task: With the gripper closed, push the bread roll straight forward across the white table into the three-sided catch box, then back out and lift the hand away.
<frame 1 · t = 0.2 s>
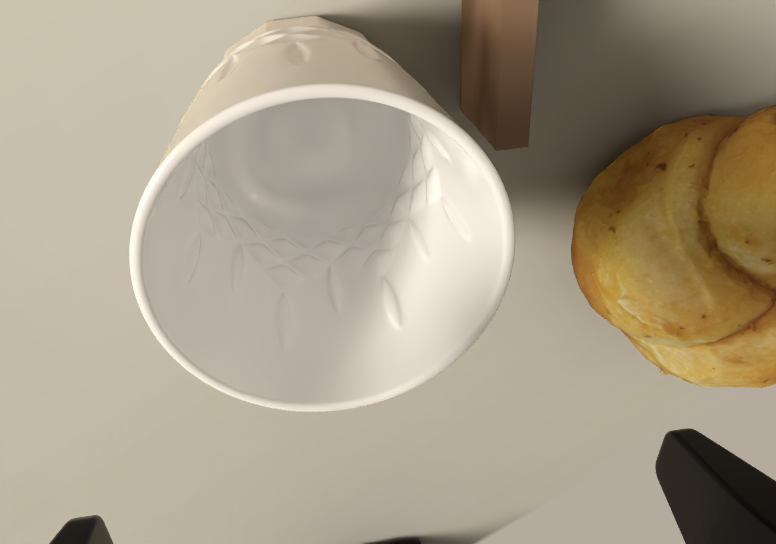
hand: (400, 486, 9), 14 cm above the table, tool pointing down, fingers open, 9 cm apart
white cup: (307, 117, 21), on the table
bread roll: (670, 228, 26), on the table
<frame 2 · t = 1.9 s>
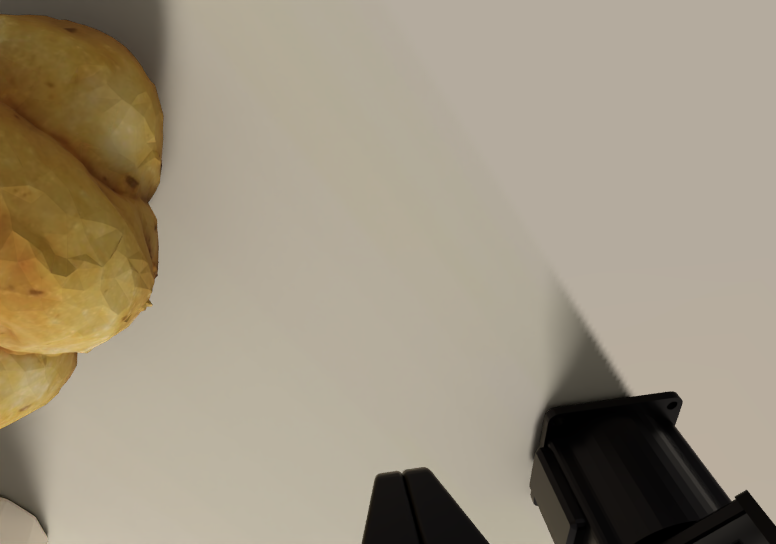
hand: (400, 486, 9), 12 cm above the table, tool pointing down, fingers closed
bread roll: (9, 191, 18), on the table
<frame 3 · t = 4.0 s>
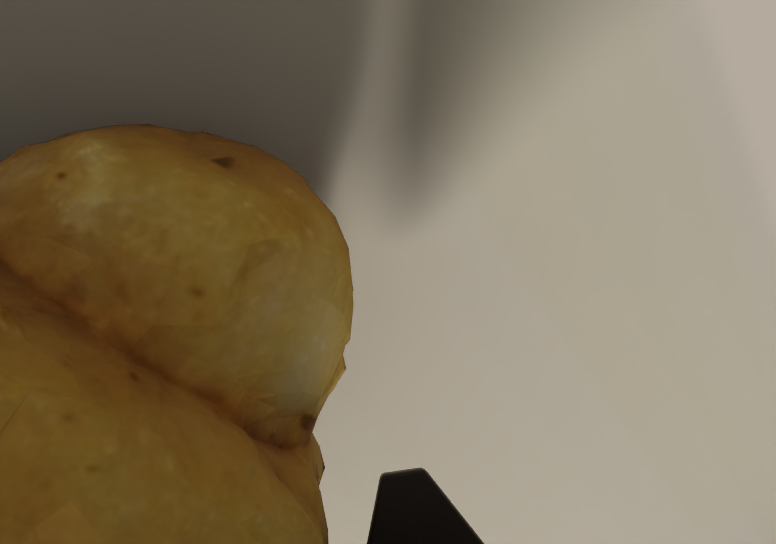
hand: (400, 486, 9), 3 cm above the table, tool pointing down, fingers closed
bread roll: (59, 371, 11), on the table, touching gripper
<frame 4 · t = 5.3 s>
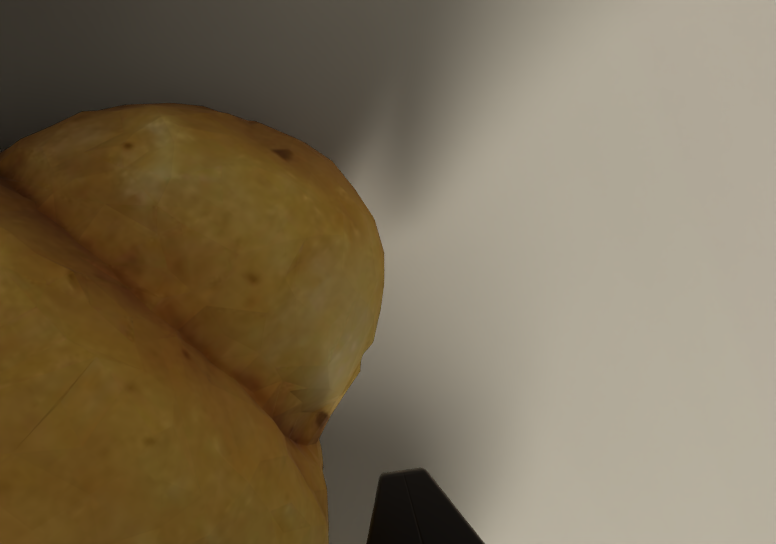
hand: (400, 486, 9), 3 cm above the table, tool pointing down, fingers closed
bread roll: (52, 343, 11), on the table, touching gripper
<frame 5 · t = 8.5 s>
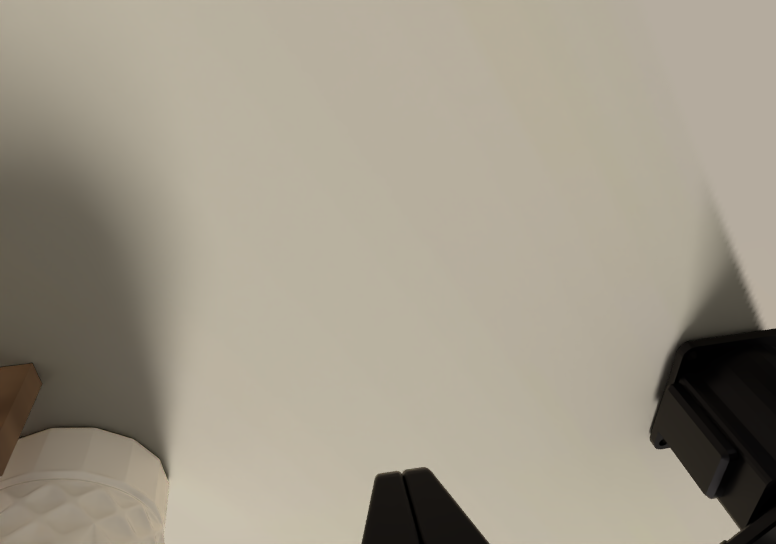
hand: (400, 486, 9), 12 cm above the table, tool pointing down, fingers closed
white cup: (83, 478, 24), on the table
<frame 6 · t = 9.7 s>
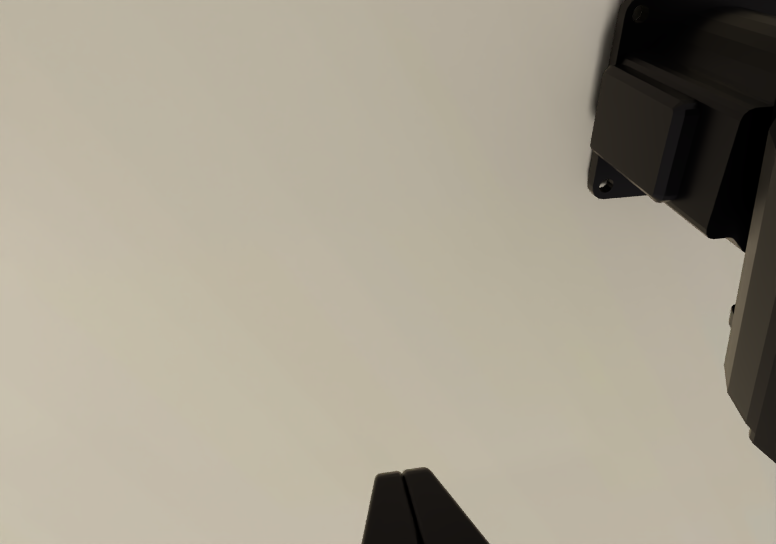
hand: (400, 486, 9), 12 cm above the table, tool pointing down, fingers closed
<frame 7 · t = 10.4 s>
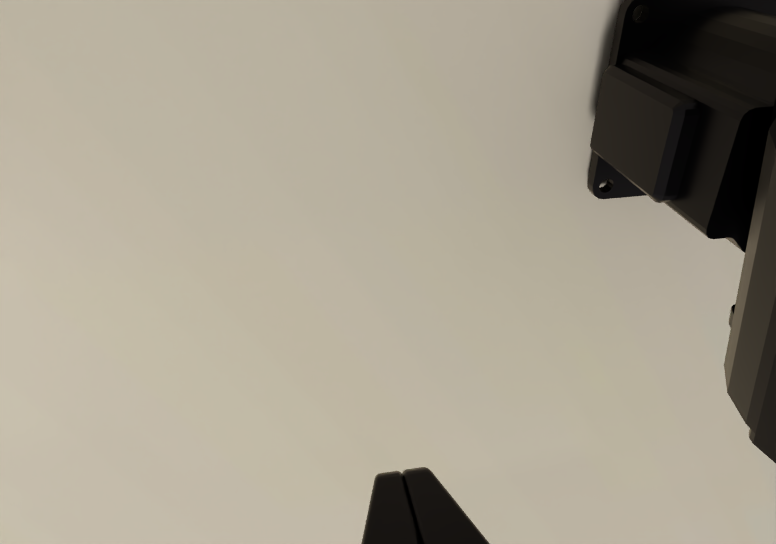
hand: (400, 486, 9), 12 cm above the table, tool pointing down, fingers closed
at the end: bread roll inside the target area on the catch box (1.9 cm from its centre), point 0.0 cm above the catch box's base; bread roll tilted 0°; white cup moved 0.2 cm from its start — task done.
